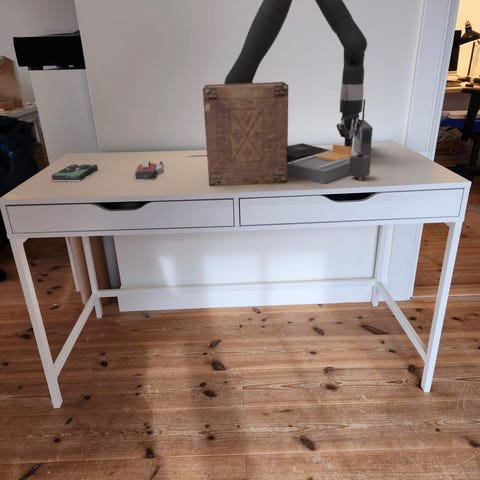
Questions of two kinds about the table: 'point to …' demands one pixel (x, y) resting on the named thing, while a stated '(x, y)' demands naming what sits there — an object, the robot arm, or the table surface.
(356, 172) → the plug
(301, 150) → the portable cd player
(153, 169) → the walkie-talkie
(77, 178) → the disk drive
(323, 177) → the socket block
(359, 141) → the electronic device
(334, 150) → the shutter
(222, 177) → the book
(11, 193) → the table surface
